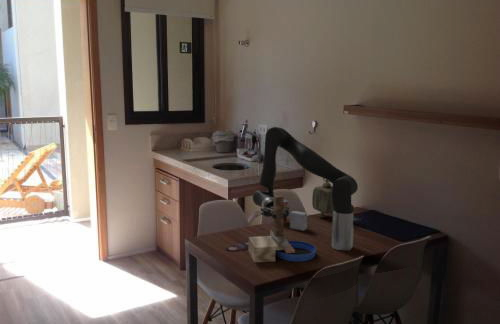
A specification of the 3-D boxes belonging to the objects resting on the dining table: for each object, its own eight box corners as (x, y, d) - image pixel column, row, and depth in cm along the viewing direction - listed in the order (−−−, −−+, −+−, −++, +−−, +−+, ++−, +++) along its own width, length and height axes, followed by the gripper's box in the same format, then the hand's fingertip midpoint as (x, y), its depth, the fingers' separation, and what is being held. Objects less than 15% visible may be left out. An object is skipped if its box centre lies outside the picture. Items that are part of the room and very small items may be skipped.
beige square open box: (254, 262, 189) (254, 247, 188) (248, 250, 202) (248, 236, 201) (286, 260, 191) (287, 246, 190) (278, 249, 205) (278, 235, 204)
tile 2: (283, 249, 196) (283, 247, 195) (281, 246, 199) (281, 244, 199) (292, 249, 196) (292, 247, 196) (289, 246, 200) (289, 244, 200)
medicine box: (306, 229, 236) (307, 213, 234) (303, 231, 232) (303, 214, 231) (293, 226, 240) (294, 210, 239) (289, 228, 236) (290, 212, 235)
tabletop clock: (339, 219, 254) (341, 176, 250) (327, 221, 249) (329, 177, 245) (322, 213, 266) (324, 171, 262) (310, 215, 261) (312, 173, 257)
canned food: (276, 224, 242) (276, 202, 241) (270, 220, 250) (270, 199, 248) (289, 223, 245) (290, 201, 243) (283, 219, 253) (283, 198, 251)
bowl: (300, 245, 211) (300, 238, 211) (323, 258, 196) (324, 250, 195) (267, 251, 203) (267, 244, 202) (288, 265, 187) (289, 257, 187)
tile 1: (285, 253, 191) (286, 251, 191) (283, 250, 195) (283, 247, 195) (295, 252, 192) (295, 250, 192) (292, 249, 196) (292, 247, 196)
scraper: (278, 246, 189) (278, 200, 186) (270, 235, 204) (270, 192, 200) (287, 246, 190) (287, 200, 187) (278, 234, 204) (278, 192, 201)
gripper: (256, 199, 207) (264, 208, 190) (285, 198, 209) (296, 207, 193) (255, 214, 208) (264, 225, 191) (285, 213, 211) (296, 224, 194)
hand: (280, 216), depth 192 cm, fingers closed on scraper, 3 cm apart
